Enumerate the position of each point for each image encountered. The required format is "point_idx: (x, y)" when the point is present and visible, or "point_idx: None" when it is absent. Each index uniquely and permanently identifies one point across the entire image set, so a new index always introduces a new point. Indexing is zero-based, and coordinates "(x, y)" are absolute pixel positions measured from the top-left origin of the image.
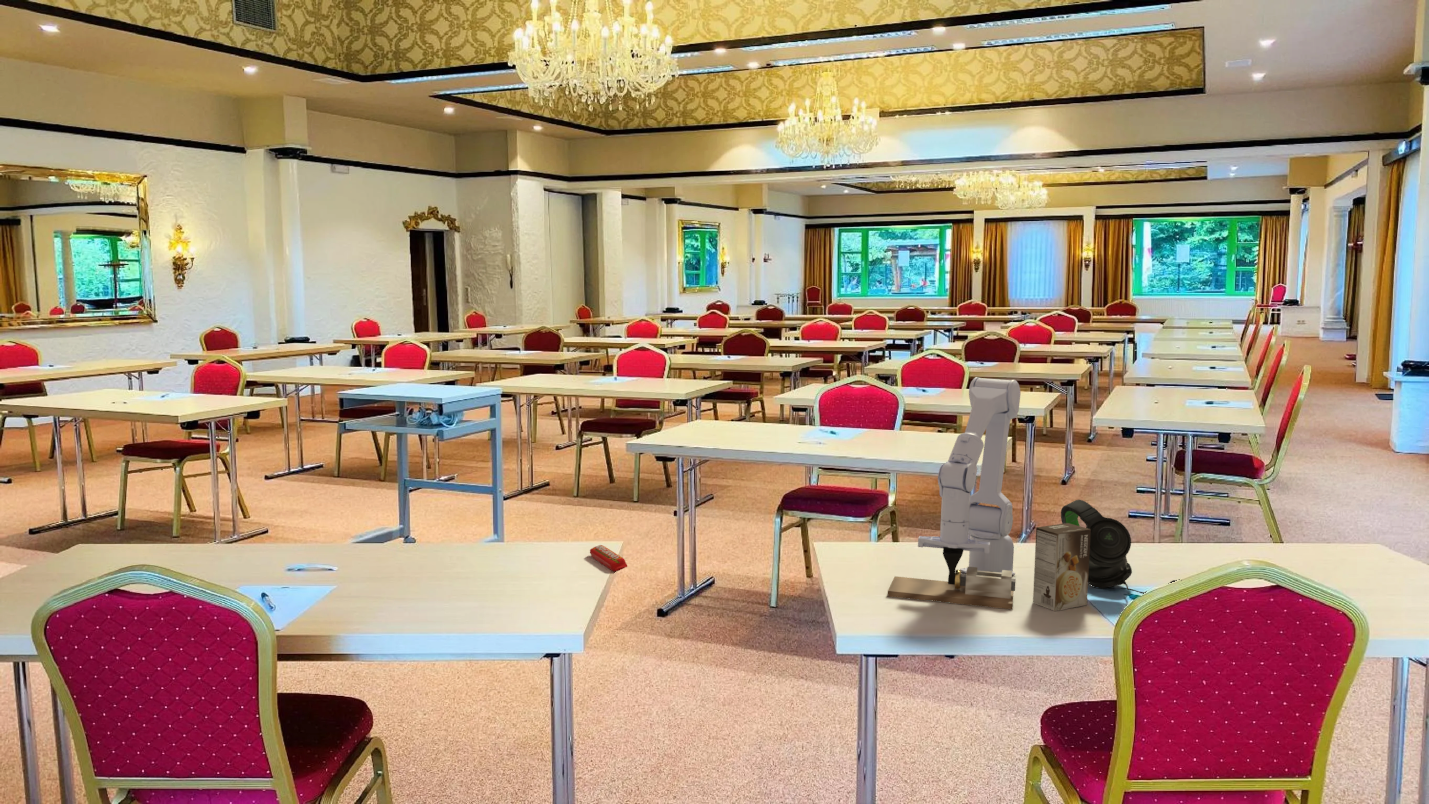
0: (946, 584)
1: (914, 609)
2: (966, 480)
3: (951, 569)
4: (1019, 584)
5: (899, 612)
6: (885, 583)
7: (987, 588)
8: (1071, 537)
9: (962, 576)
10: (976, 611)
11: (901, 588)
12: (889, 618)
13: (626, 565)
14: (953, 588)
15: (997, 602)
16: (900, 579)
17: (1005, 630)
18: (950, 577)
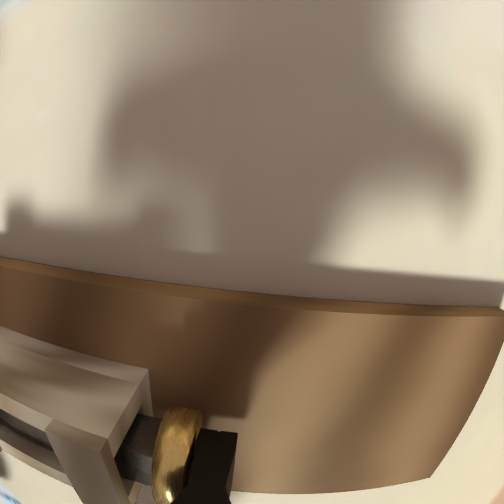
0: (246, 469)
1: (417, 135)
2: None
3: (207, 494)
4: None
5: (467, 88)
6: (456, 440)
7: (38, 365)
8: None
9: (145, 456)
10: (97, 182)
11: (458, 370)
12: (478, 24)
13: None
14: None
15: (15, 268)
16: (423, 462)
17: (41, 7)
18: (220, 455)
